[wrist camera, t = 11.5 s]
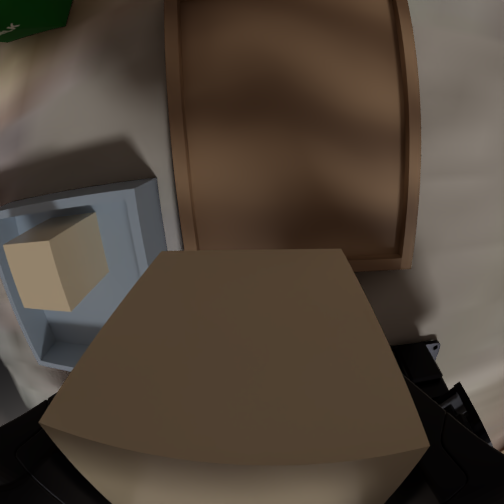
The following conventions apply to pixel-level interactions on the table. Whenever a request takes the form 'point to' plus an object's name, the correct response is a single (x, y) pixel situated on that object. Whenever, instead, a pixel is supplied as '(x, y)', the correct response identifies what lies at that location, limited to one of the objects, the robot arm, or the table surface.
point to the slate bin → (116, 252)
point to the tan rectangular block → (57, 262)
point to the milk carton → (31, 17)
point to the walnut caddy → (295, 126)
